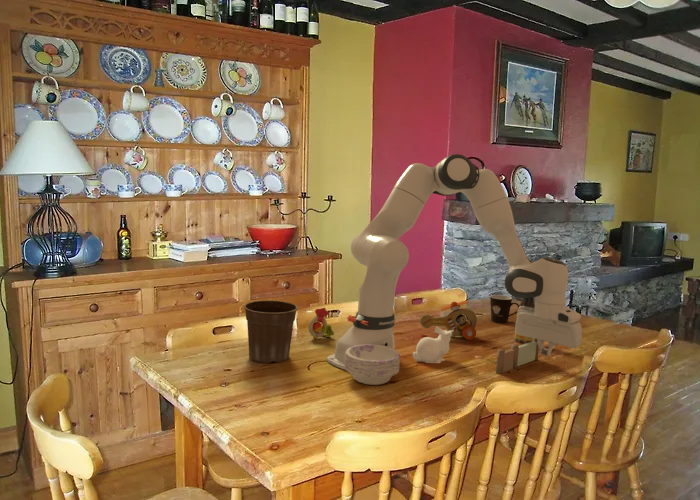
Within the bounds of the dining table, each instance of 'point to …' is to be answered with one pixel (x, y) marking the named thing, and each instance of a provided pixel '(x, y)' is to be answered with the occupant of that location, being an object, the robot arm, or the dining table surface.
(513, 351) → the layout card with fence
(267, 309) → the plant pot
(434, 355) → the rabbit
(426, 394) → the dining table surface
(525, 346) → the sage gate panel
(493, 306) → the coffee mug
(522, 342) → the sauce bottle
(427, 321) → the toy helicopter
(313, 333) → the bird rattle
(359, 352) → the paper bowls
